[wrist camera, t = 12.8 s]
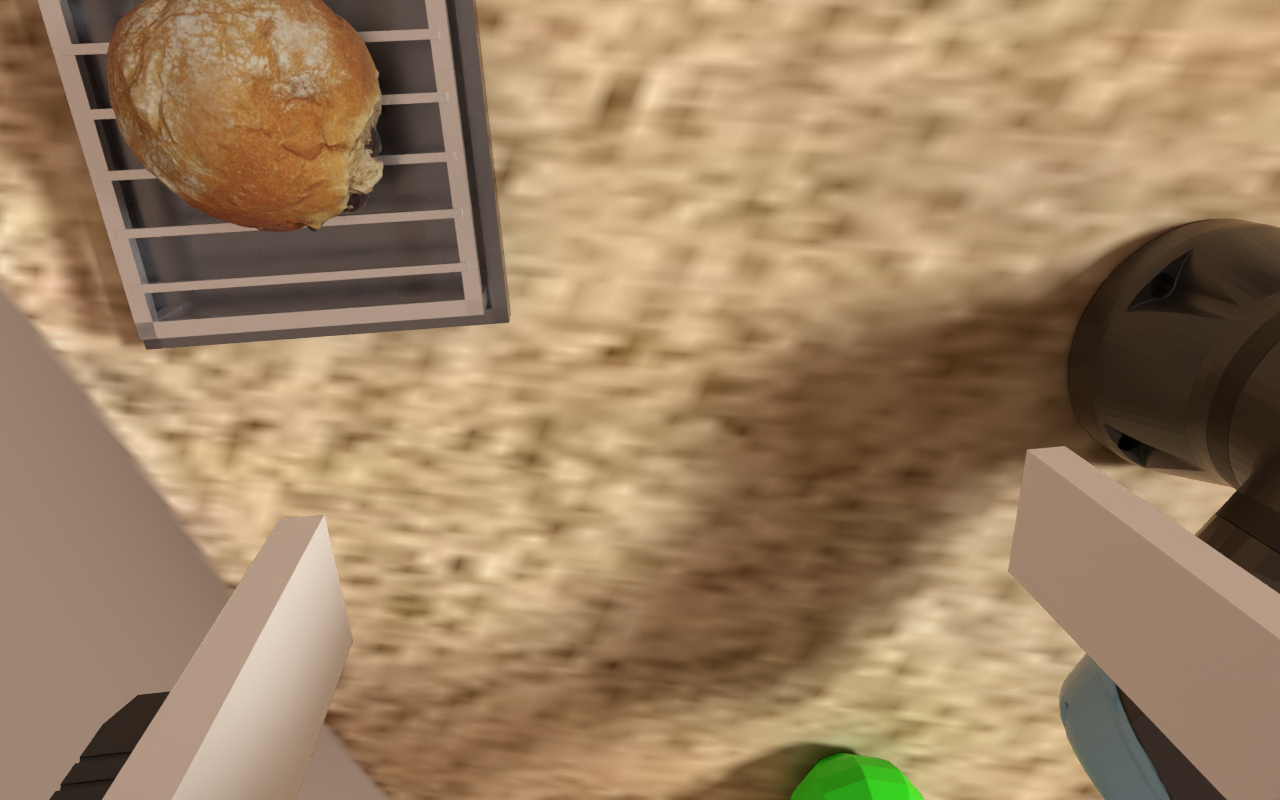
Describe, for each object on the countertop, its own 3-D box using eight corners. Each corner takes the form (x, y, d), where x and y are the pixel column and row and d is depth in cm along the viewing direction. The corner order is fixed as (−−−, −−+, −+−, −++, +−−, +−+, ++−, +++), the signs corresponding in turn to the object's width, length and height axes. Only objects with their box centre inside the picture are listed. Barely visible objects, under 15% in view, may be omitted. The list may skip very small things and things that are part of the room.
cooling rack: (455, -179, 34) (444, -211, 30) (510, 314, 42) (507, 335, 38) (13, -169, 32) (-55, -203, 28) (161, 340, 40) (123, 364, 37)
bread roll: (345, -19, 35) (235, -144, 27) (450, 178, 34) (368, 109, 26) (164, 94, 36) (6, 4, 28) (263, 287, 35) (130, 252, 27)
